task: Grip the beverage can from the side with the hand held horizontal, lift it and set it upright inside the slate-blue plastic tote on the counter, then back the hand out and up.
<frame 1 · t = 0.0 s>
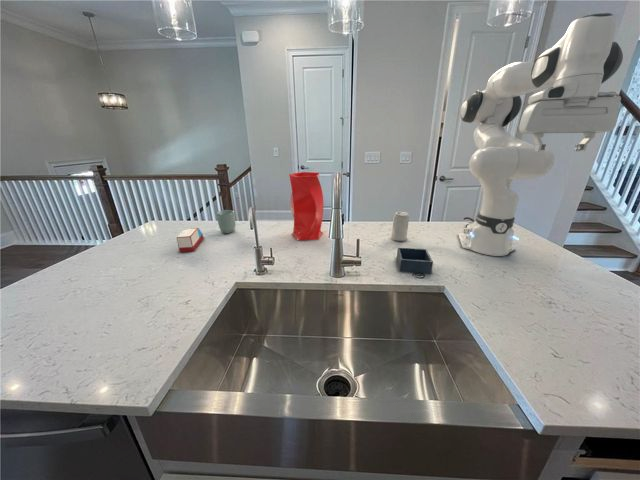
hand: (559, 151, 69), 39 cm above the worktop, tool pointing down, fingers open, 8 cm apart
vase: (308, 236, 121), on the worktop
beverage can: (398, 239, 115), on the worktop
tote: (412, 265, 92), on the worktop
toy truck: (192, 245, 113), on the worktop
cup: (228, 232, 127), on the worktop
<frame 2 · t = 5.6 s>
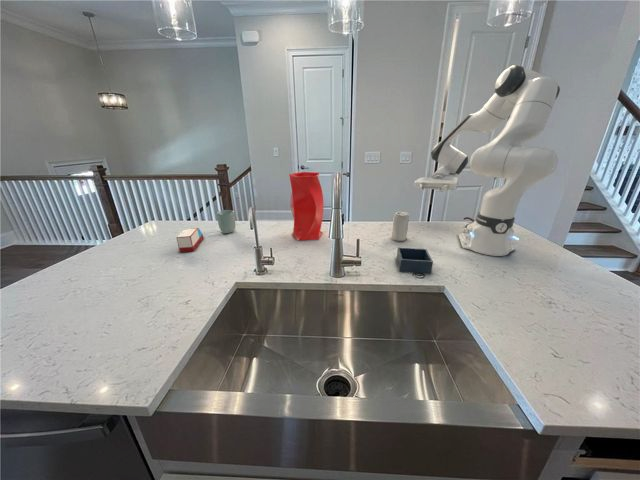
hand: (430, 189, 126), 18 cm above the worktop, tool horizontal, fingers open, 8 cm apart
nothing on the worktop moved.
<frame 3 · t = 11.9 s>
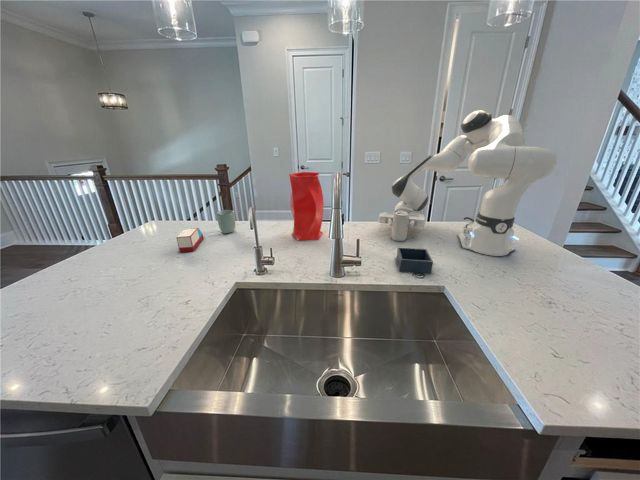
hand: (400, 224, 112), 7 cm above the worktop, tool horizontal, fingers closed on beverage can, 6 cm apart
beverage can: (398, 239, 115), on the worktop, touching gripper
everything else where it was.
when the fingers open (8 cm above the worktop, at t = 20.4 s): beverage can stays where it is, resting on tote.
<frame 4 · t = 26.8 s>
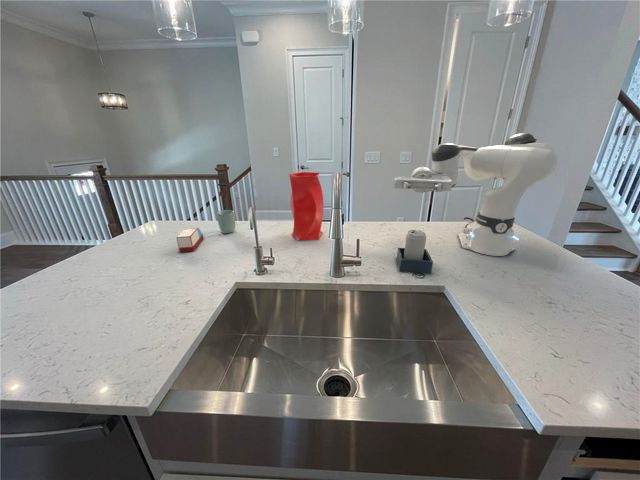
hand: (422, 187, 91), 26 cm above the worktop, tool horizontal, fingers open, 8 cm apart
beverage can: (412, 264, 92), resting on tote
everything else where it was.
at the end: beverage can inside the target area in the tote (0.3 cm from its centre), point 0.4 cm above the tote's base; beverage can tilted 0°; the gripper is holding nothing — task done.
